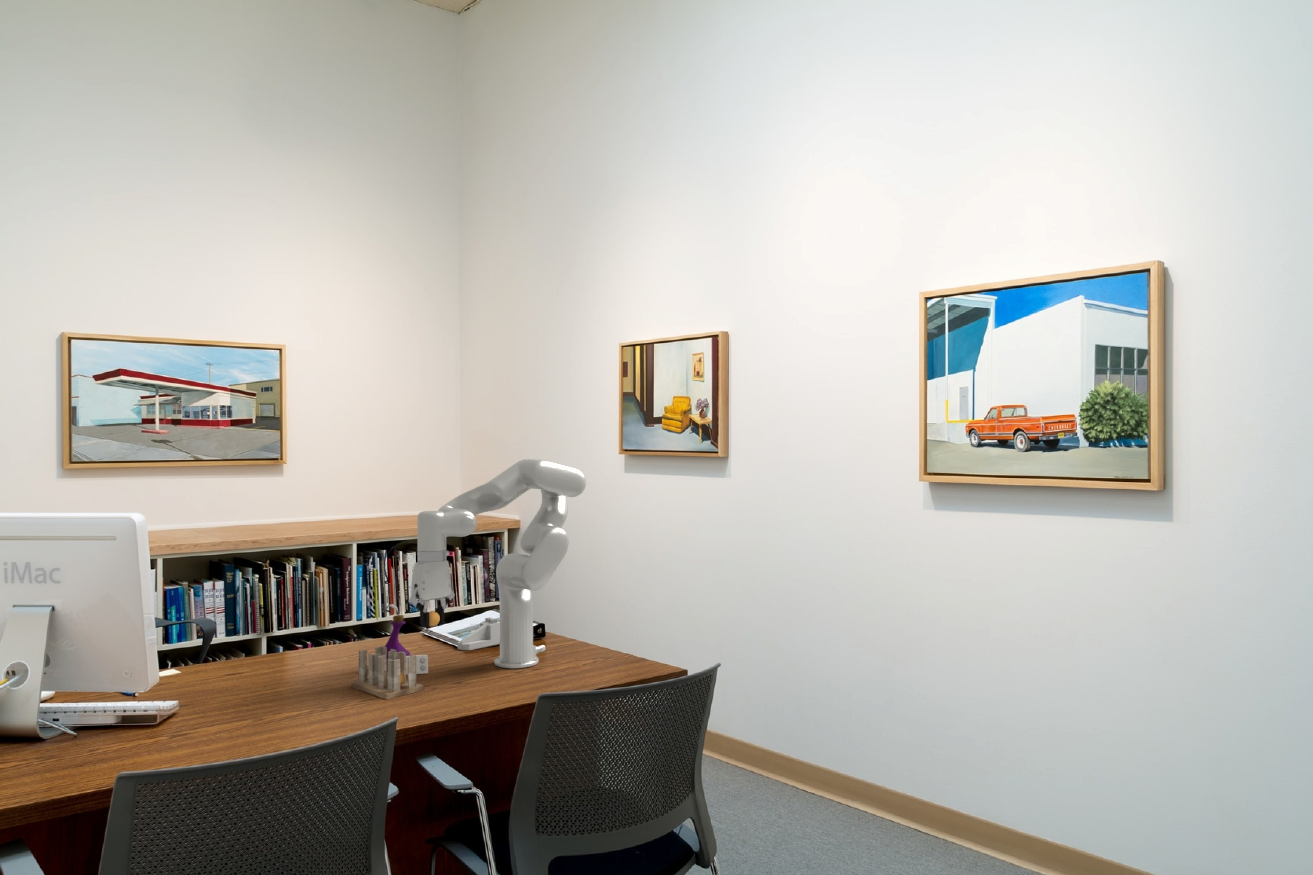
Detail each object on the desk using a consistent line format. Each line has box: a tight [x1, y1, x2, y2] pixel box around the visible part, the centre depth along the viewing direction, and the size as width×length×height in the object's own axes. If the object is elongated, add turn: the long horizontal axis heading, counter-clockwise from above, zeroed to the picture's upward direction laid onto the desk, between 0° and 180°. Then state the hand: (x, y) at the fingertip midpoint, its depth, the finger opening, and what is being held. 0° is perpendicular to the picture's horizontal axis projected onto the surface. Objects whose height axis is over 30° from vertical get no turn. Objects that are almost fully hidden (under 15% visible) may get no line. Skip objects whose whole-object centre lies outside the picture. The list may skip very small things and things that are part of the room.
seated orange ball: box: [400, 672, 405, 686], centre depth 233 cm, size 4×4×4 cm
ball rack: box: [350, 645, 425, 700], centre depth 236 cm, size 11×17×9 cm, turn 49°
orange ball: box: [428, 610, 440, 627], centre depth 243 cm, size 4×4×4 cm
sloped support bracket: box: [457, 616, 500, 651], centre depth 285 cm, size 6×18×8 cm, turn 136°
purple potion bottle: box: [384, 603, 411, 671], centre depth 257 cm, size 8×8×18 cm
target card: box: [406, 654, 429, 676], centre depth 250 cm, size 1×8×5 cm, turn 105°
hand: (432, 624), depth 243 cm, fingers closed on orange ball, 3 cm apart
